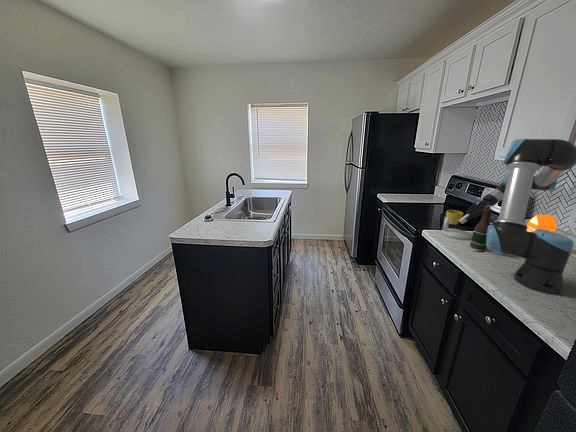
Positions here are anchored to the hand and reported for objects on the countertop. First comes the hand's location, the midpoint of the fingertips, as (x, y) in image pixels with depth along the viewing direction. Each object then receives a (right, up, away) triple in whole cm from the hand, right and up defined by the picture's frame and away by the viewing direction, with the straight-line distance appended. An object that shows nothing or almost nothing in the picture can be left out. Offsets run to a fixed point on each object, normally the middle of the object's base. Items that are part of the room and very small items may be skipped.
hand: (460, 222), depth 160 cm
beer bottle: (-5, -15, -21) cm, 26 cm away
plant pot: (+8, -2, +20) cm, 22 cm away
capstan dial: (-5, -8, -3) cm, 10 cm away
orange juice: (+31, -15, -17) cm, 38 cm away
